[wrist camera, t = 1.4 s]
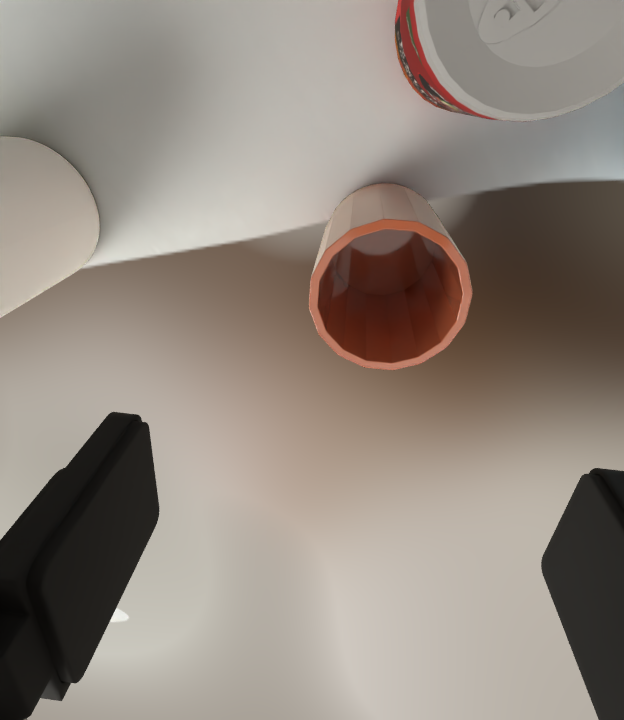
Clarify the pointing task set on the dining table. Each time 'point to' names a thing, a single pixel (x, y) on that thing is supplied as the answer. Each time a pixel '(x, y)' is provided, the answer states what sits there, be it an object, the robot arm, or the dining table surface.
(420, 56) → the canned food
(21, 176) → the cup
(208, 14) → the dining table surface
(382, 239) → the terracotta cup
